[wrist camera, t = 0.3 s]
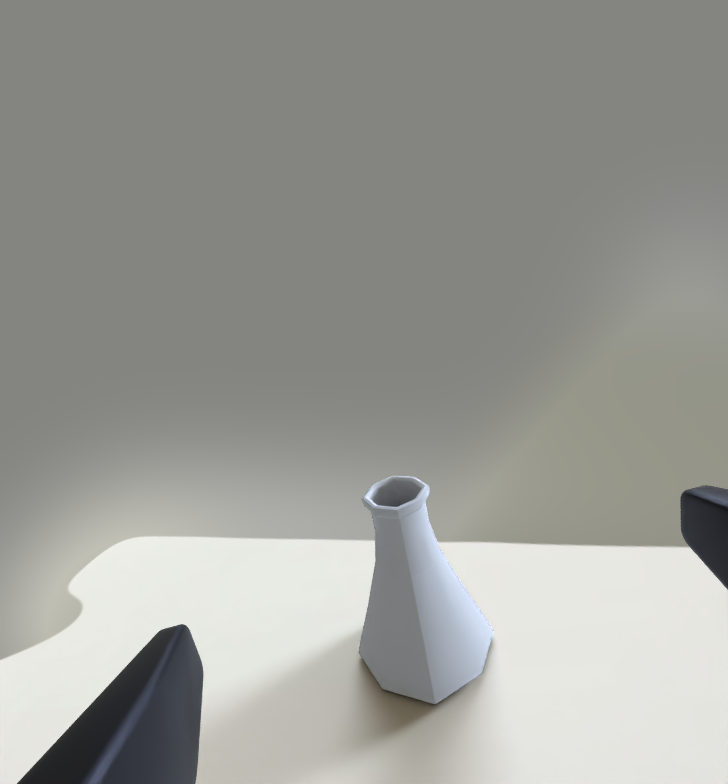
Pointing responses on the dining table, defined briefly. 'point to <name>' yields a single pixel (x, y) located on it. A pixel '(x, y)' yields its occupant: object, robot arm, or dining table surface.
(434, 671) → the flask
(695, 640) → the dining table surface
